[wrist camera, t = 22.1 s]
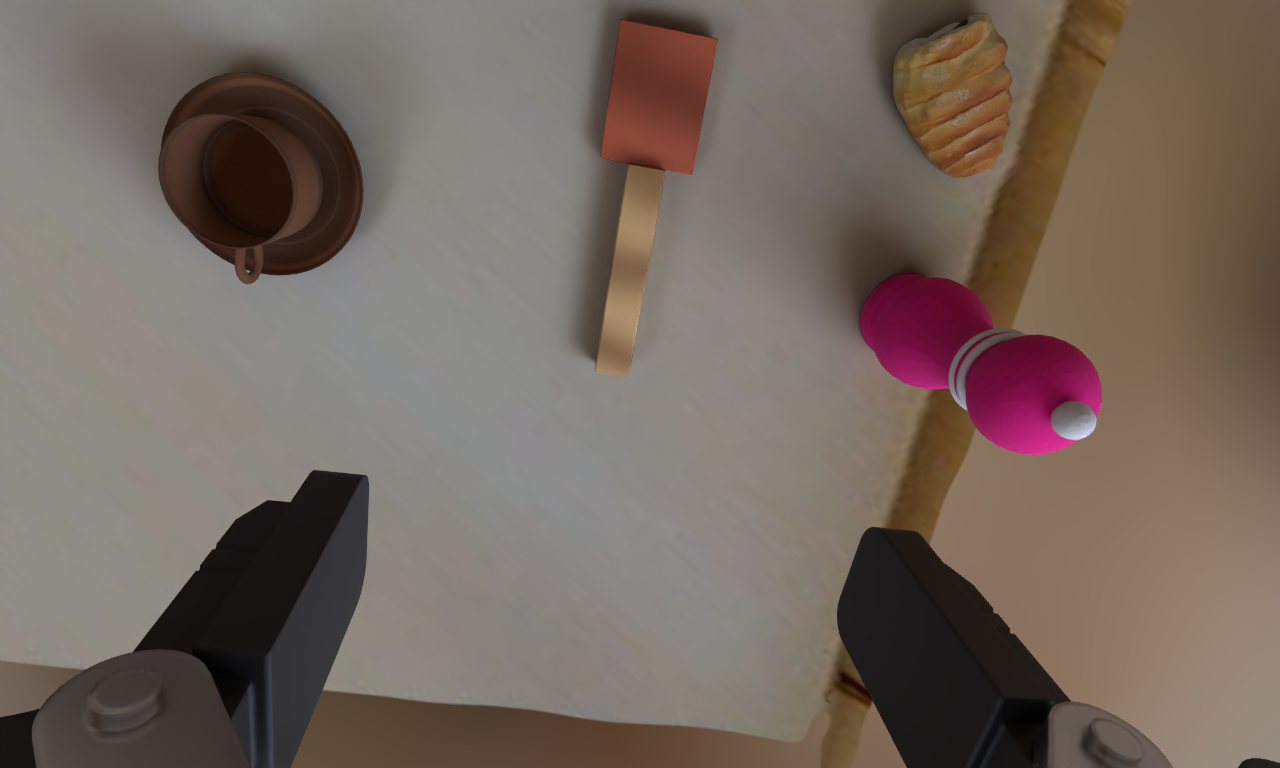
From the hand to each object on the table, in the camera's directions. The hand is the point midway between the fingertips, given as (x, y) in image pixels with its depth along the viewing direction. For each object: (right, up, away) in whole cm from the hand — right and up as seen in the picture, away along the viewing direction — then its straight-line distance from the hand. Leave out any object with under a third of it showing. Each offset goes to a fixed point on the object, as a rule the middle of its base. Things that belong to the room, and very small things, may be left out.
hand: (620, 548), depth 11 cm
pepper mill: (+19, +8, +38) cm, 44 cm away
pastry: (+20, +22, +33) cm, 44 cm away
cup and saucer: (-23, +16, +33) cm, 44 cm away
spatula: (0, +14, +35) cm, 38 cm away
